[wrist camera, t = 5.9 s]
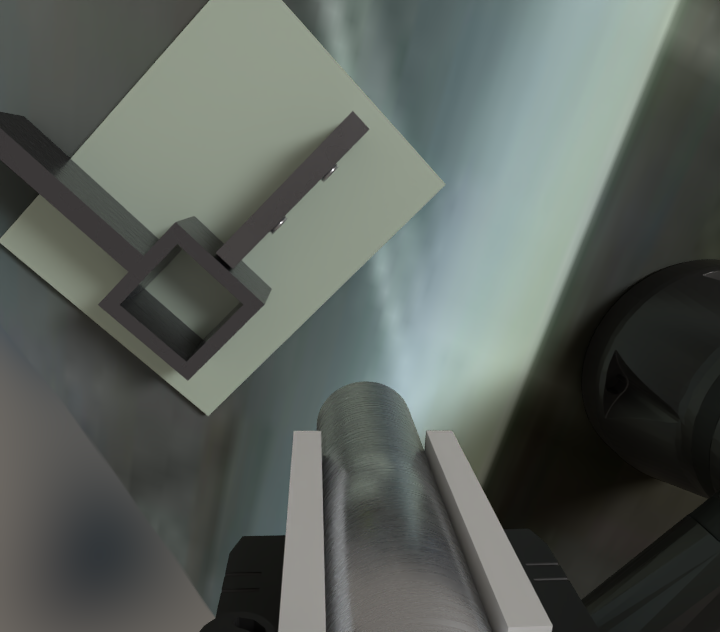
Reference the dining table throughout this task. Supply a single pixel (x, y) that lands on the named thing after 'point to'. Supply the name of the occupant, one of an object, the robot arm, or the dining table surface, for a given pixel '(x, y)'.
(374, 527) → the hinge pin
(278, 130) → the mat
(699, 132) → the dining table surface
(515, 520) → the dining table surface
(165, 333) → the hinge base
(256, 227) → the bolted dark bar
